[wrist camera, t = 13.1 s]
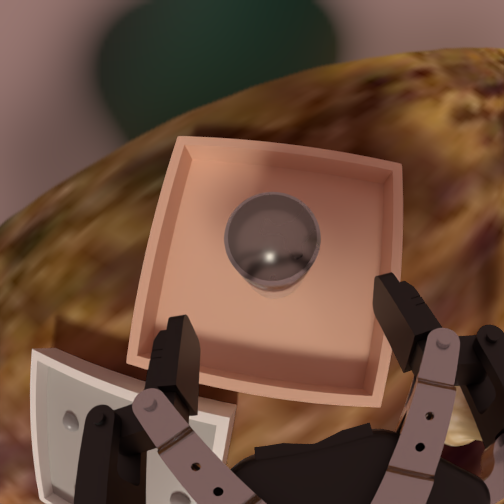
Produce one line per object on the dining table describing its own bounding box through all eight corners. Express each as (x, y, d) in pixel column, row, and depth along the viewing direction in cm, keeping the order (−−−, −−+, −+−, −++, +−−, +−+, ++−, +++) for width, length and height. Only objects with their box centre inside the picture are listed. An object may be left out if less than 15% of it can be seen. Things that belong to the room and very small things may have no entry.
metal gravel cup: (240, 293, 22) (215, 276, 13) (250, 236, 23) (232, 185, 14) (300, 302, 22) (314, 291, 13) (308, 244, 23) (325, 197, 14)
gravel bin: (57, 489, 20) (39, 499, 17) (55, 347, 24) (32, 348, 20) (209, 550, 18) (202, 570, 14) (236, 404, 21) (229, 417, 18)
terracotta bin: (145, 358, 23) (126, 363, 19) (189, 156, 26) (178, 136, 23) (366, 396, 21) (380, 407, 17) (388, 182, 24) (401, 164, 21)
